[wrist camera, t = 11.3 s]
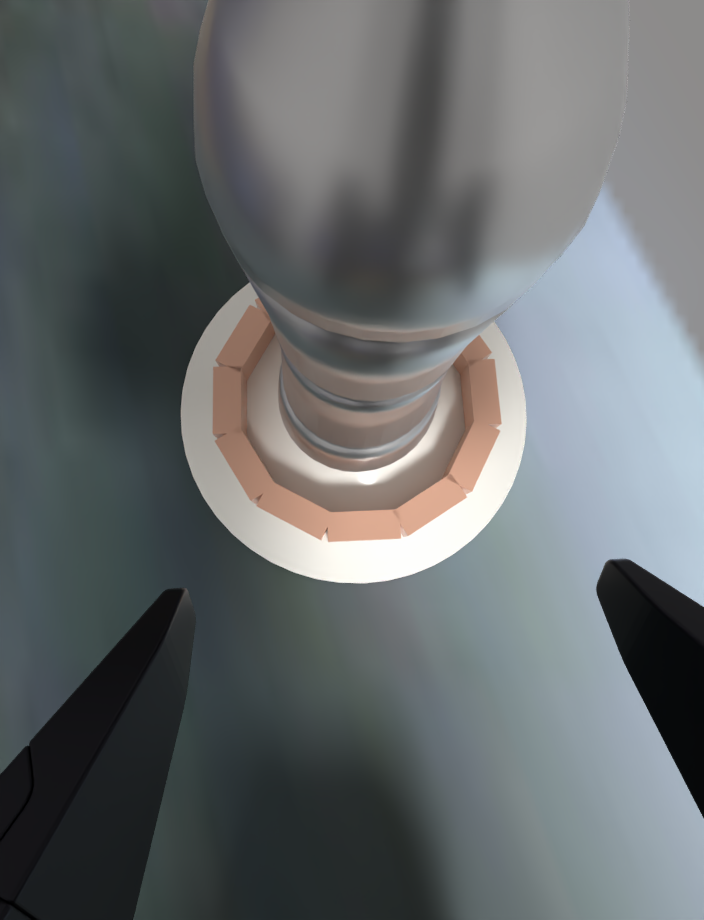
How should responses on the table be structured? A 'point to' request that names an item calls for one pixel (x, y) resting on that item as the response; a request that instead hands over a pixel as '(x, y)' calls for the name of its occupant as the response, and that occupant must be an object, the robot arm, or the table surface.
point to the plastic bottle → (398, 185)
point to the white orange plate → (339, 492)
